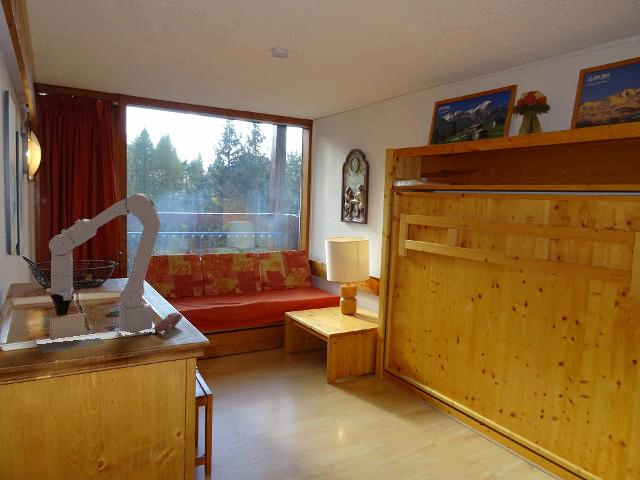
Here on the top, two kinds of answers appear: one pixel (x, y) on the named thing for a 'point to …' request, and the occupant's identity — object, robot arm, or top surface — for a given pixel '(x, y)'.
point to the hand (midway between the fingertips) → (61, 317)
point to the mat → (68, 344)
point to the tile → (67, 326)
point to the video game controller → (168, 322)
